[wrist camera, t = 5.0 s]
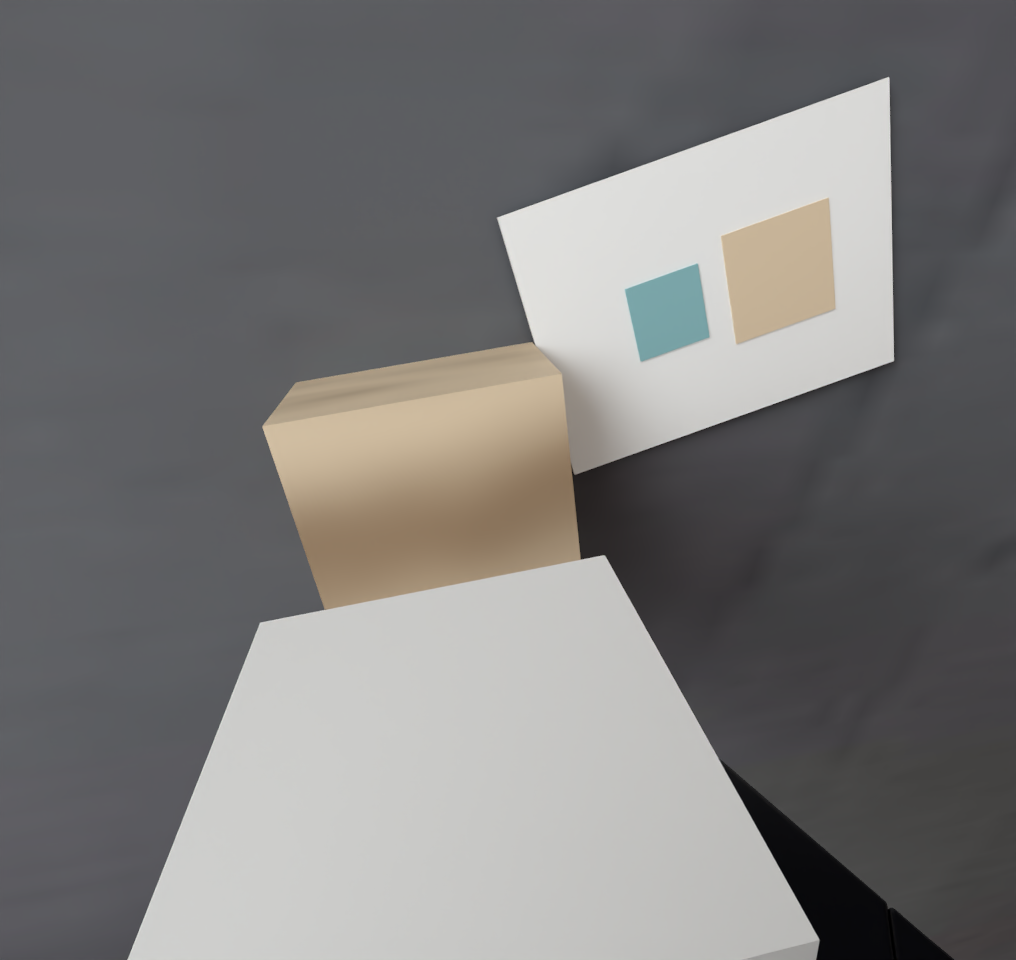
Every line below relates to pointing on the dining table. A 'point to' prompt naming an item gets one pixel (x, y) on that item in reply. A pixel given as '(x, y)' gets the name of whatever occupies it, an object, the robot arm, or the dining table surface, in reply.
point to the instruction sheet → (714, 276)
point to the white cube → (468, 794)
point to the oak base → (428, 473)
